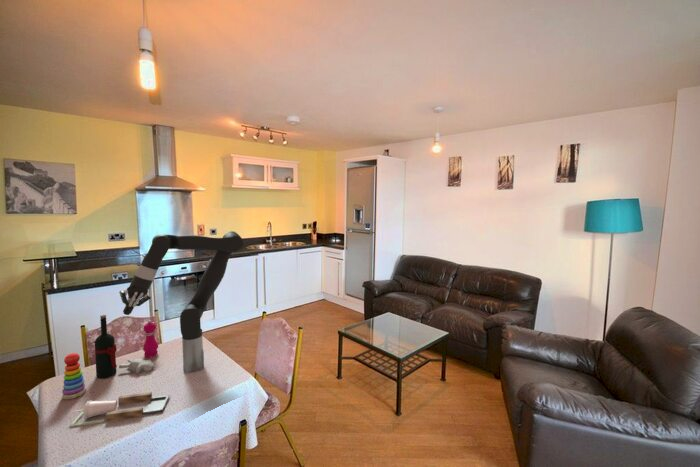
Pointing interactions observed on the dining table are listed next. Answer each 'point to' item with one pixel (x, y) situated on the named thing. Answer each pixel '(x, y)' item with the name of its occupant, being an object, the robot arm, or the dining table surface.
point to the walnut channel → (130, 412)
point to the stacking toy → (73, 378)
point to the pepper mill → (150, 340)
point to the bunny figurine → (138, 365)
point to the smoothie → (97, 408)
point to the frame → (84, 422)
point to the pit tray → (156, 405)
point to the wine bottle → (105, 352)
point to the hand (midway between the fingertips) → (126, 314)
